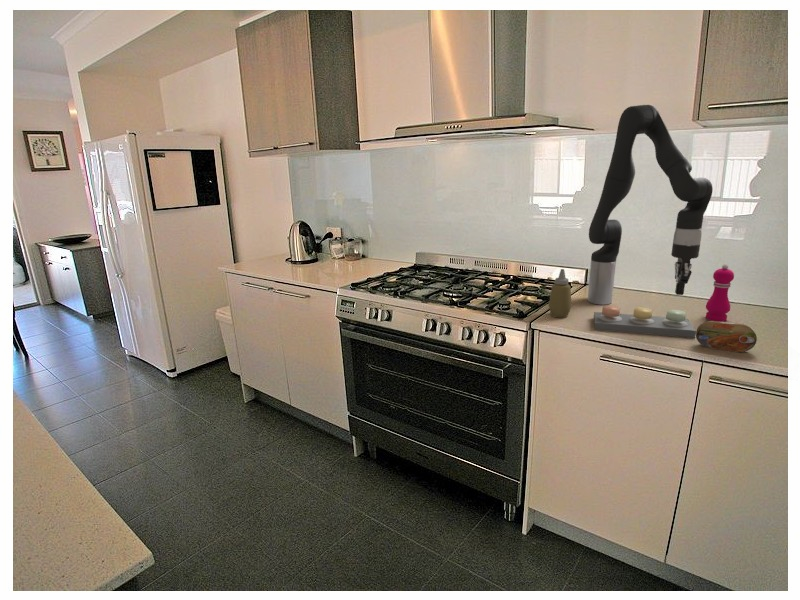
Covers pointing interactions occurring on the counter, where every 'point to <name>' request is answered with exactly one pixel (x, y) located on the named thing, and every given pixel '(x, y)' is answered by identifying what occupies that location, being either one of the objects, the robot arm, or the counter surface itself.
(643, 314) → the ochre button
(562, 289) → the squeeze bottle
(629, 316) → the button panel
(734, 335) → the tin
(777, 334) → the counter surface
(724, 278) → the pepper mill
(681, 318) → the sage button
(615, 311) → the terracotta button
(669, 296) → the counter surface
